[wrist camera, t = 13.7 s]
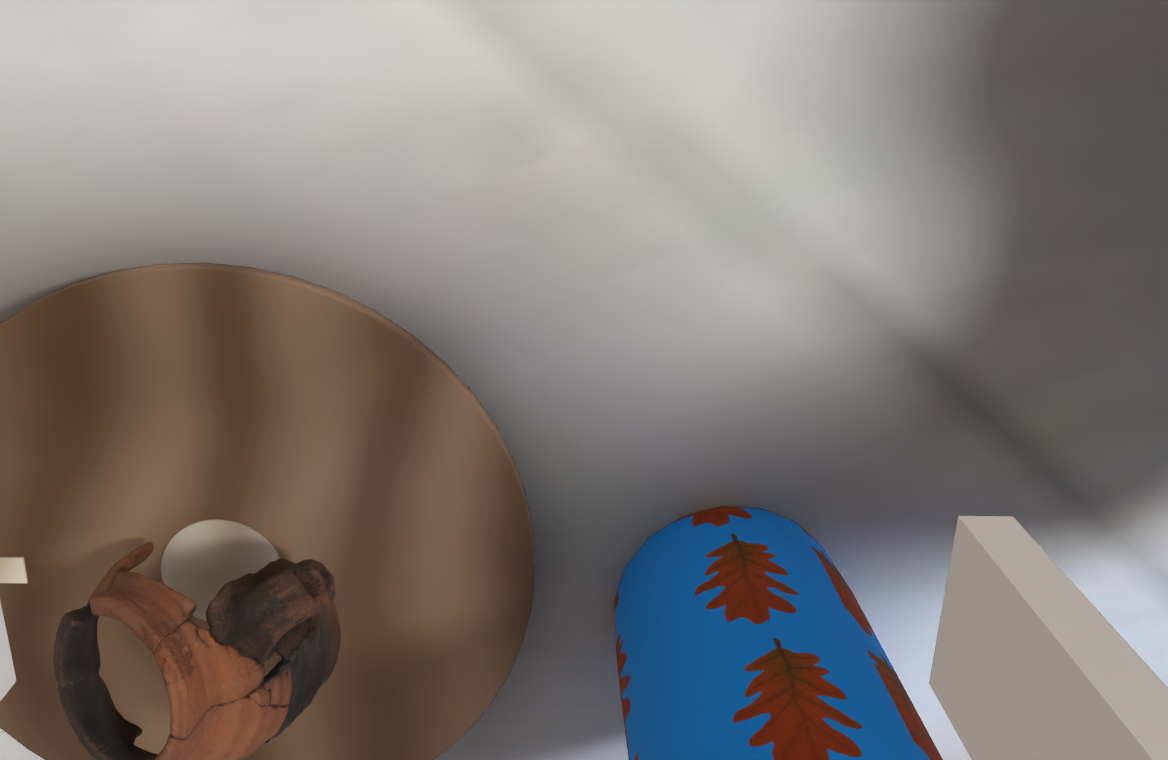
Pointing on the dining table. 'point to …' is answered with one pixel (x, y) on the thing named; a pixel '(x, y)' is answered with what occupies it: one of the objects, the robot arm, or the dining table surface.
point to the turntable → (256, 499)
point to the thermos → (753, 650)
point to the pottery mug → (204, 658)
